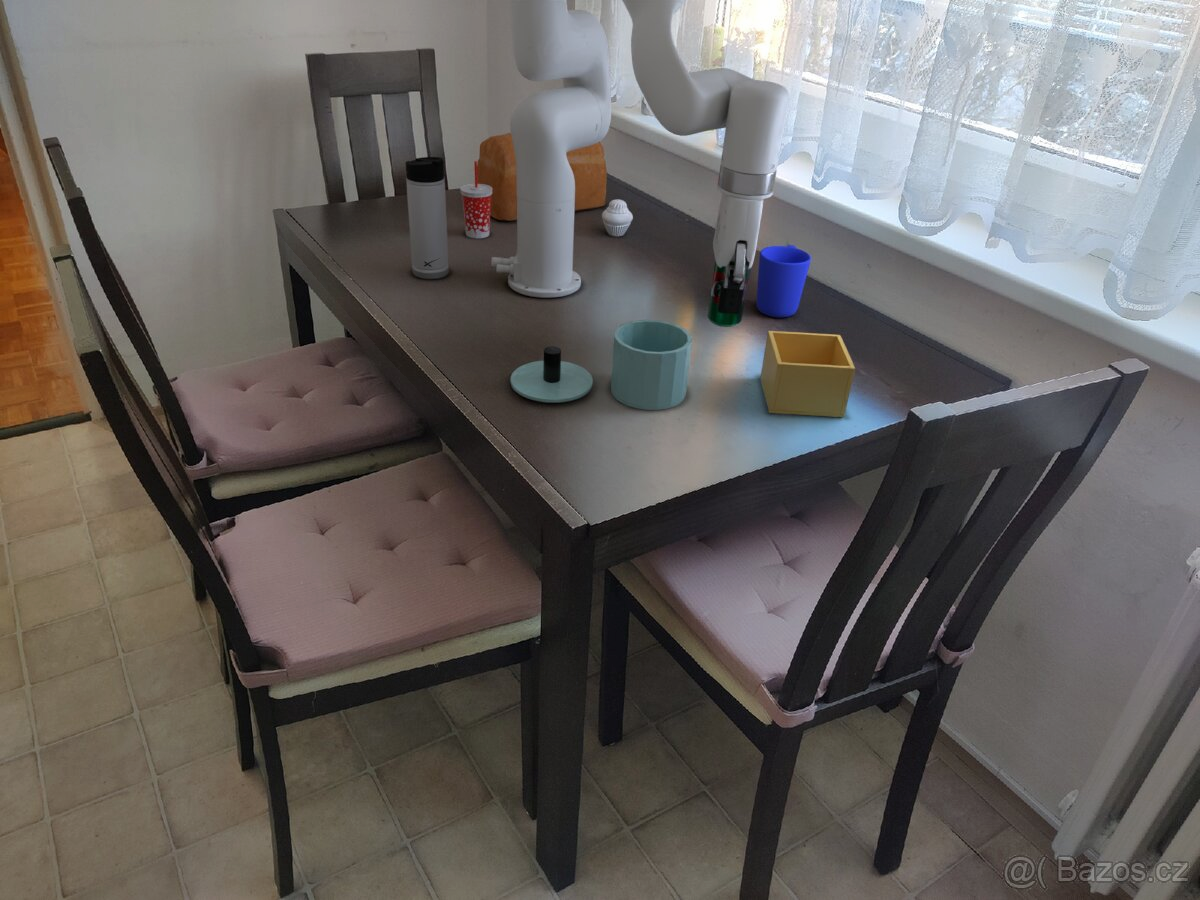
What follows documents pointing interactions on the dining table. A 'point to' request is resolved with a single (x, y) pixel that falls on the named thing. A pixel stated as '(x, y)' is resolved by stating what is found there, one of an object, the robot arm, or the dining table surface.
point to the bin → (806, 374)
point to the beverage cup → (476, 208)
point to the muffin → (617, 218)
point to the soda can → (713, 313)
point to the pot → (650, 364)
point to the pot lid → (551, 379)
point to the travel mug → (427, 217)
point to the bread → (502, 177)
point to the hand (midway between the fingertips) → (726, 302)
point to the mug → (781, 280)
